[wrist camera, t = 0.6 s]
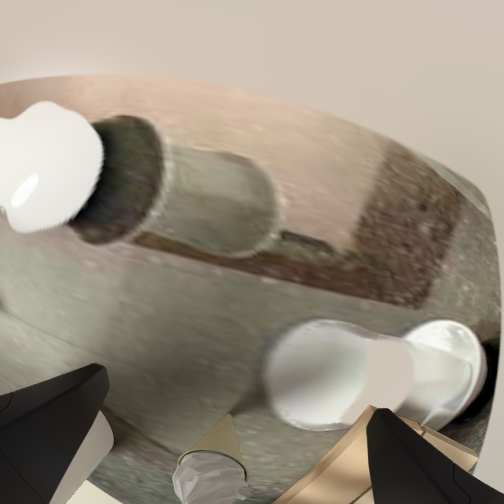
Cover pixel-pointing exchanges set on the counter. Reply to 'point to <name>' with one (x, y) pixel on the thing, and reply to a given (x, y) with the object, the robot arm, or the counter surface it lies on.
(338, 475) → the floor strip
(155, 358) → the counter surface
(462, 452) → the oak plank
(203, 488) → the ice cream cone
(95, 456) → the tall pillar cylinder
